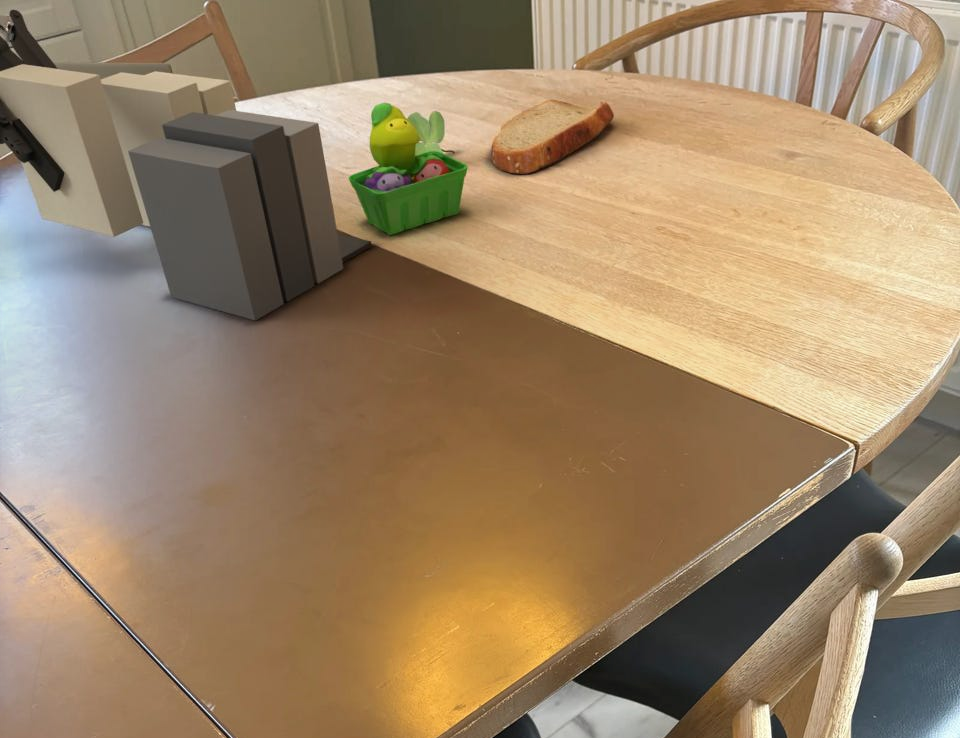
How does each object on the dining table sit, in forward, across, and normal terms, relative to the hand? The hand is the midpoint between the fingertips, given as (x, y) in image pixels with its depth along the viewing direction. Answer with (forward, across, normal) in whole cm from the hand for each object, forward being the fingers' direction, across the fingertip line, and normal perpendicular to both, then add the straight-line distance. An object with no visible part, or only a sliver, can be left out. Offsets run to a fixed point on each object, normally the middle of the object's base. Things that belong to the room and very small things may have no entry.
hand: (77, 174), depth 104 cm
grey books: (+20, +7, -7) cm, 23 cm away
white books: (+6, +17, +7) cm, 19 cm away
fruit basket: (+23, +24, -10) cm, 35 cm away
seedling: (+18, +40, -4) cm, 44 cm away
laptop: (-8, +27, +22) cm, 36 cm away
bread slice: (+25, +51, -11) cm, 58 cm away
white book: (+3, 0, +4) cm, 5 cm away
